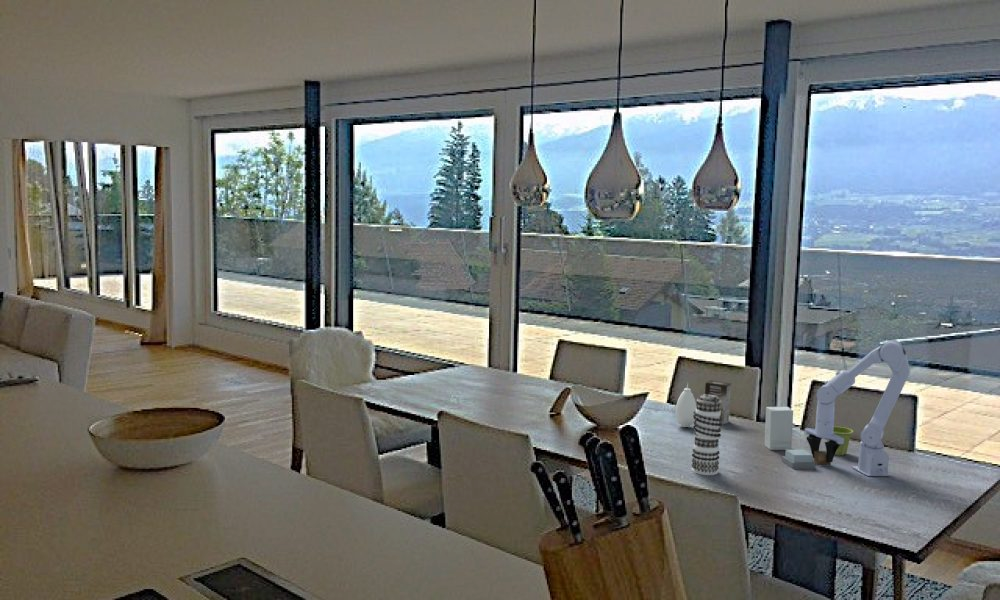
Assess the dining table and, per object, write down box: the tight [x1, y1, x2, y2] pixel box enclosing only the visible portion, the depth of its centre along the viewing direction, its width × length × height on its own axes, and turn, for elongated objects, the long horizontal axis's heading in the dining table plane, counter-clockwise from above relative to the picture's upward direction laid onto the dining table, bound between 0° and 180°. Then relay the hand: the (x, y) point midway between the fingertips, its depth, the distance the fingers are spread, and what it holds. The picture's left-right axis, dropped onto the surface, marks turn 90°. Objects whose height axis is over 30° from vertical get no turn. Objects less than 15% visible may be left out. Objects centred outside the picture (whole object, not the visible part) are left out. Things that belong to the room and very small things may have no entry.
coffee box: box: [704, 379, 732, 425], centre depth 341 cm, size 9×6×16 cm
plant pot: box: [826, 425, 854, 456], centre depth 300 cm, size 9×9×9 cm
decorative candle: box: [691, 393, 723, 476], centre depth 273 cm, size 9×9×25 cm
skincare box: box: [764, 406, 794, 451], centre depth 304 cm, size 8×6×15 cm
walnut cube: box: [813, 450, 832, 466], centre depth 286 cm, size 4×4×4 cm
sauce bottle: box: [675, 381, 697, 428], centre depth 330 cm, size 8×8×18 cm
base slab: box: [781, 455, 816, 470], centre depth 284 cm, size 8×8×2 cm
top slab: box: [784, 449, 814, 462], centre depth 284 cm, size 6×6×2 cm
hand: (822, 459), depth 287 cm, fingers closed on walnut cube, 5 cm apart
